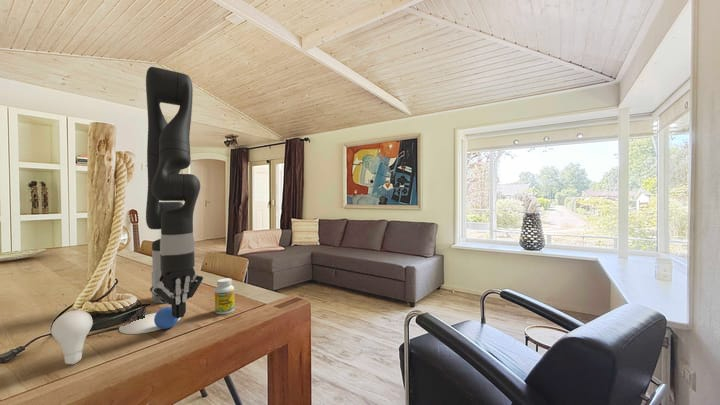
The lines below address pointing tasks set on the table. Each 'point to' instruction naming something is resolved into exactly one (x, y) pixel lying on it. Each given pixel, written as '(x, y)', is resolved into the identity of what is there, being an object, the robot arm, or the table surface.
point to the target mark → (141, 325)
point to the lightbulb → (72, 333)
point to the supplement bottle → (224, 296)
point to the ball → (165, 318)
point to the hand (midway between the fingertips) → (178, 316)
